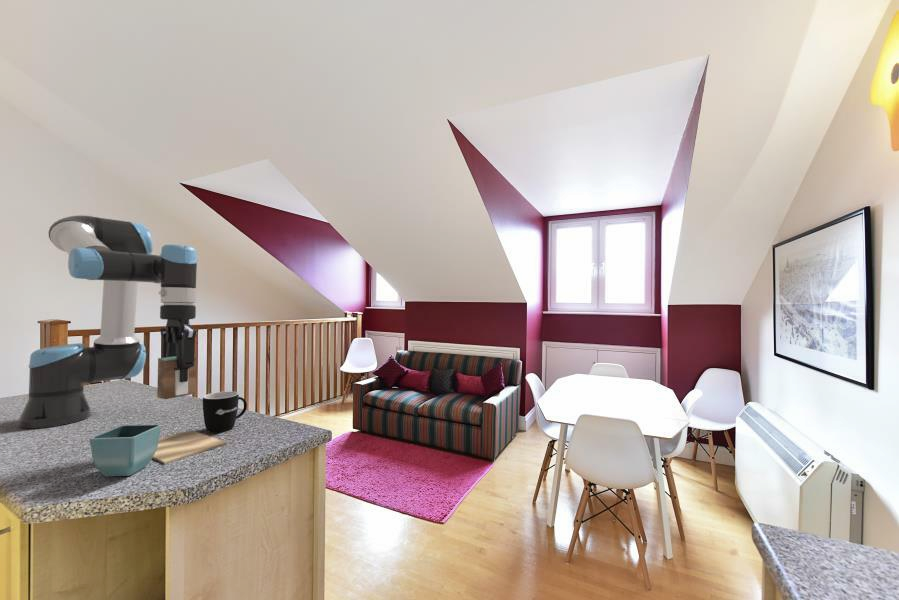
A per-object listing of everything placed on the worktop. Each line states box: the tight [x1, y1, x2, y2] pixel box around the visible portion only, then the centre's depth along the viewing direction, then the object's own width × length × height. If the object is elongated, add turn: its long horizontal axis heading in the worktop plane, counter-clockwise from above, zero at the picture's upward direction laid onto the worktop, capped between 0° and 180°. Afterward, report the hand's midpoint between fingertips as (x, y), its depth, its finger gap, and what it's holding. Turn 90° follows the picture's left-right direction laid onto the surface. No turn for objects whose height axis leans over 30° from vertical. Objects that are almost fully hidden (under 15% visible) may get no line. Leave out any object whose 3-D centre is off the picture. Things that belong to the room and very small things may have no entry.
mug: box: [202, 390, 248, 434], centre depth 108 cm, size 12×9×10 cm
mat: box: [151, 429, 228, 465], centre depth 94 cm, size 18×14×1 cm
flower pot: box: [89, 423, 162, 477], centre depth 80 cm, size 9×9×9 cm
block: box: [156, 355, 197, 400], centre depth 95 cm, size 4×7×10 cm, turn 152°
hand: (176, 393), depth 95 cm, fingers closed on block, 4 cm apart
